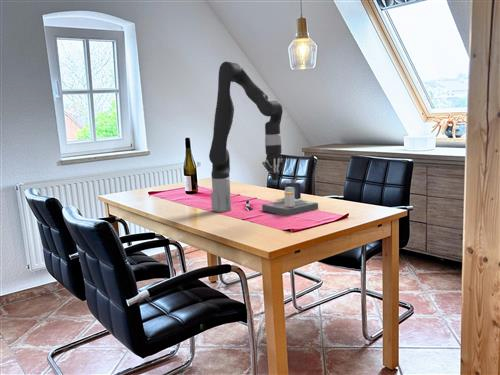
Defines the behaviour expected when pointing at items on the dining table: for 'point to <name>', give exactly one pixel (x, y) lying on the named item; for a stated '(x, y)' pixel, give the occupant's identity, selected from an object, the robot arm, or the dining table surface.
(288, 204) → the block
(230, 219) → the dining table surface
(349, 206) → the dining table surface
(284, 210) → the dual slider panel
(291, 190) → the block
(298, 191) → the flask
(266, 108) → the robot arm
